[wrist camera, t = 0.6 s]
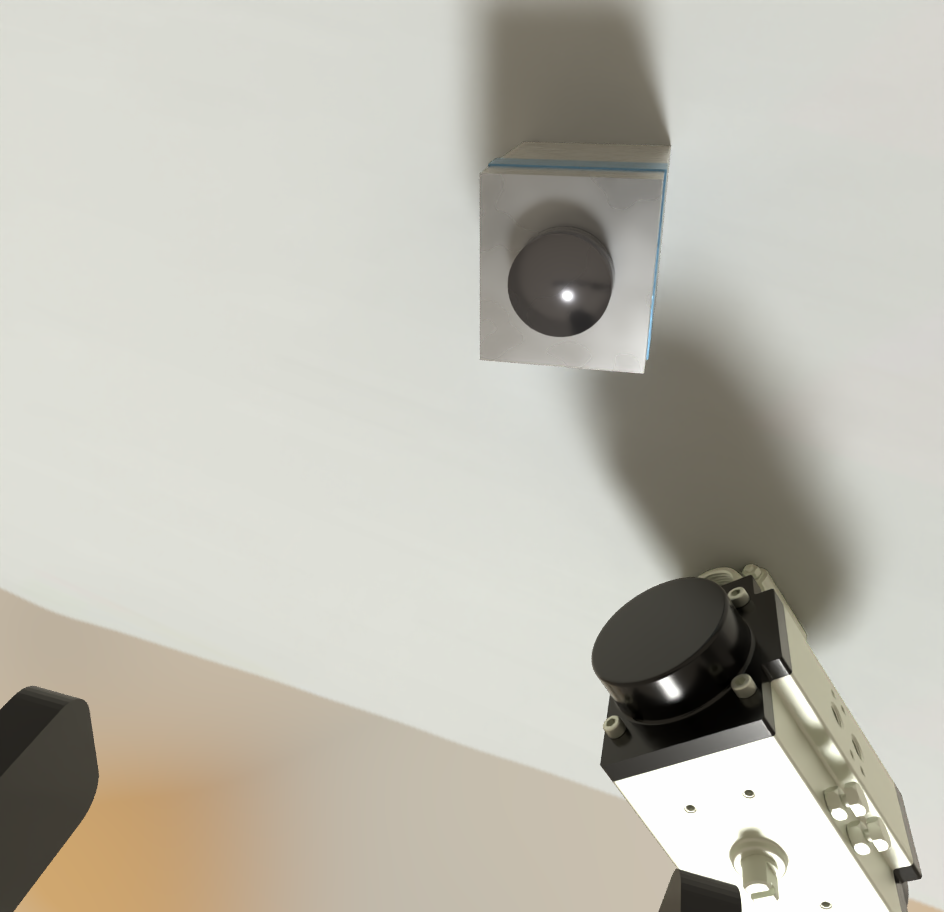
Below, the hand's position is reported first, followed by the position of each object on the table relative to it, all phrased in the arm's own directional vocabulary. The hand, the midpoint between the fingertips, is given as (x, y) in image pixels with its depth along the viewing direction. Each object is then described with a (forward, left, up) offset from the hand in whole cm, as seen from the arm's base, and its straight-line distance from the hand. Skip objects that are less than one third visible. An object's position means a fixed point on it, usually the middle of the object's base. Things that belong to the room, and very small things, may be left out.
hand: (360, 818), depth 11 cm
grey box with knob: (0, -3, -20) cm, 21 cm away
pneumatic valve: (-7, +11, -21) cm, 24 cm away
